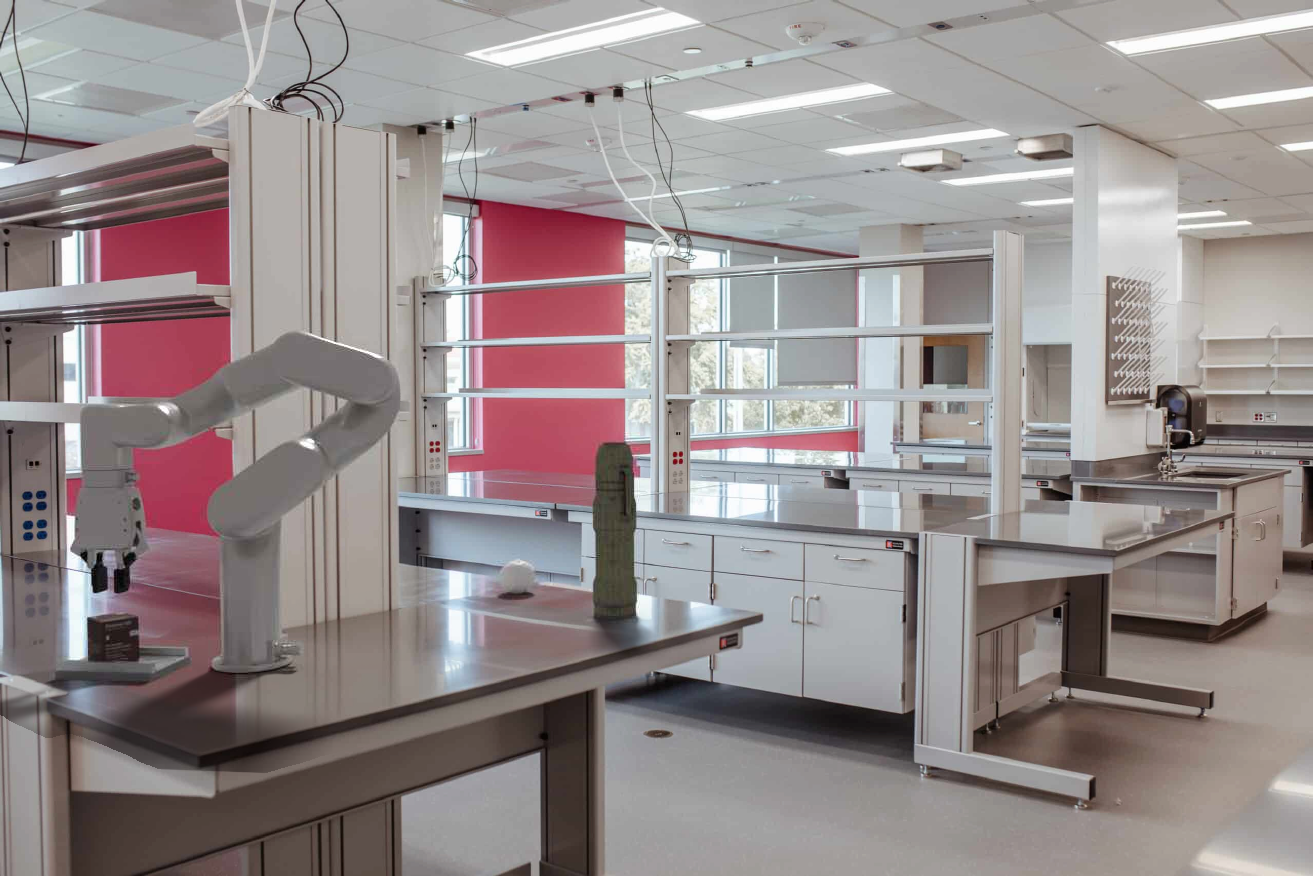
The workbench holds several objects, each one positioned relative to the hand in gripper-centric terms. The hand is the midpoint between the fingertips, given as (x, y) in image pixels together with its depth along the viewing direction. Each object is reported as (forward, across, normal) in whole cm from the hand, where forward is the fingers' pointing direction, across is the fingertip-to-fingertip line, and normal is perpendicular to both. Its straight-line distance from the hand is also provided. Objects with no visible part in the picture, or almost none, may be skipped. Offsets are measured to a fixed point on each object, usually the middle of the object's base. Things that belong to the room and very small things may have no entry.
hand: (111, 591), depth 180 cm
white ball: (+14, -51, -72) cm, 89 cm away
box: (+12, 0, 0) cm, 12 cm away
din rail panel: (+13, -2, 0) cm, 13 cm away
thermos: (+13, -76, -51) cm, 93 cm away
